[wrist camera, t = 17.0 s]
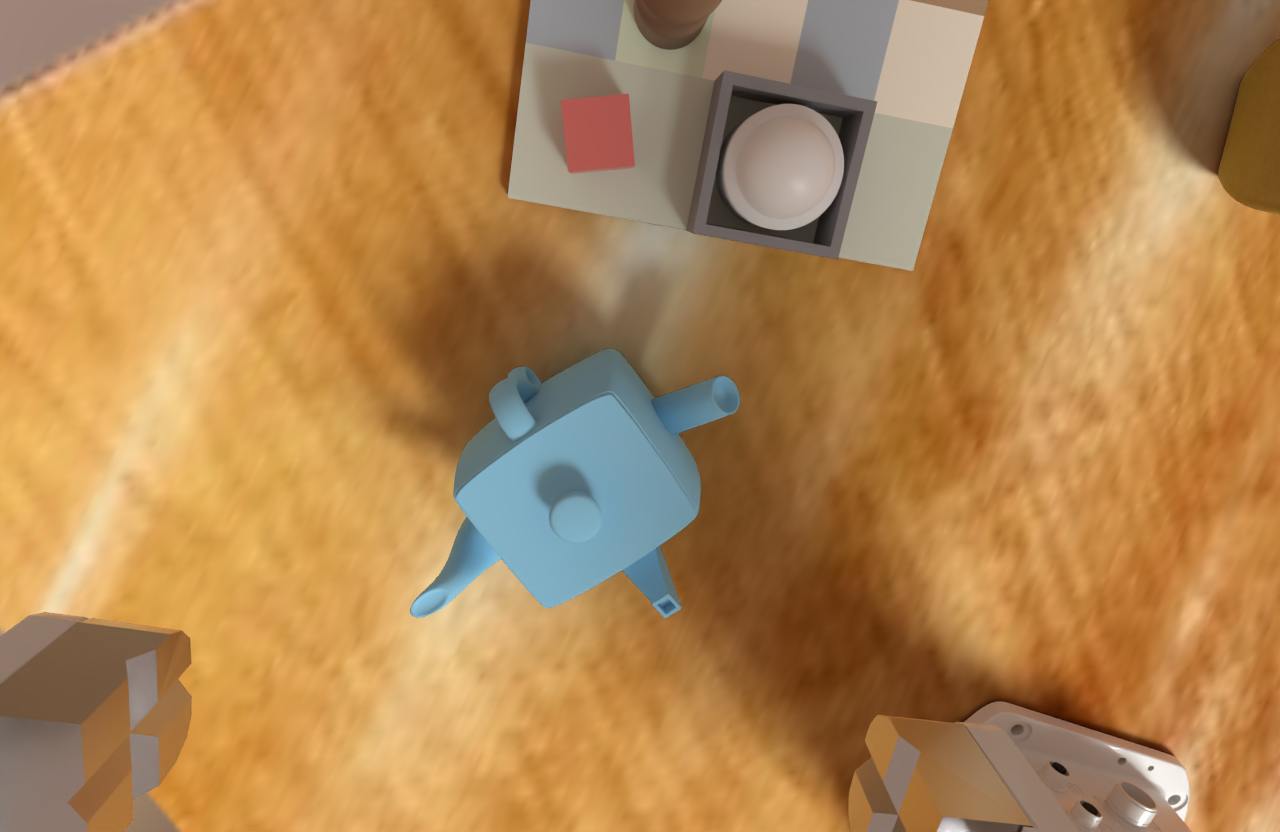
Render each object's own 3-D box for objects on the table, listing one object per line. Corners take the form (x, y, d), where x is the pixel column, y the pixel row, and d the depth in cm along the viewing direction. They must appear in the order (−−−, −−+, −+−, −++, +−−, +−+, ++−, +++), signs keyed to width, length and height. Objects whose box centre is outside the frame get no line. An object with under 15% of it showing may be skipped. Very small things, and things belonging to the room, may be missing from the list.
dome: (837, 122, 35) (874, 111, 30) (810, 236, 36) (842, 243, 31) (728, 101, 34) (748, 85, 29) (705, 216, 36) (721, 220, 31)
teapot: (652, 257, 38) (668, 280, 28) (787, 464, 41) (841, 546, 32) (382, 443, 40) (311, 522, 30) (533, 622, 44) (512, 743, 34)
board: (980, -2, 35) (1026, -26, 31) (905, 269, 38) (938, 277, 35) (545, -97, 33) (536, -136, 29) (510, 197, 36) (498, 198, 33)
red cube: (627, 101, 34) (629, 93, 32) (632, 167, 35) (635, 165, 32) (564, 107, 34) (560, 99, 32) (571, 173, 35) (568, 172, 32)
